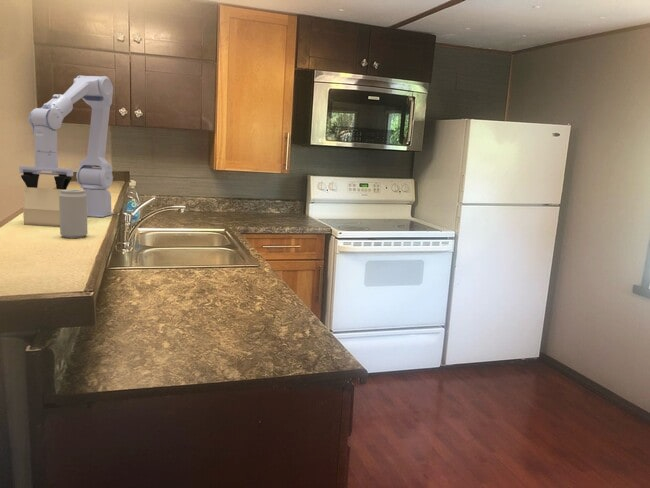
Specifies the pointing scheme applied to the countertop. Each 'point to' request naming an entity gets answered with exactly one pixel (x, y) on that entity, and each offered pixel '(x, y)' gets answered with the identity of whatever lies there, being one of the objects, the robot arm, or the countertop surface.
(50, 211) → the carton
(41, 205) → the flap
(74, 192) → the beverage can
